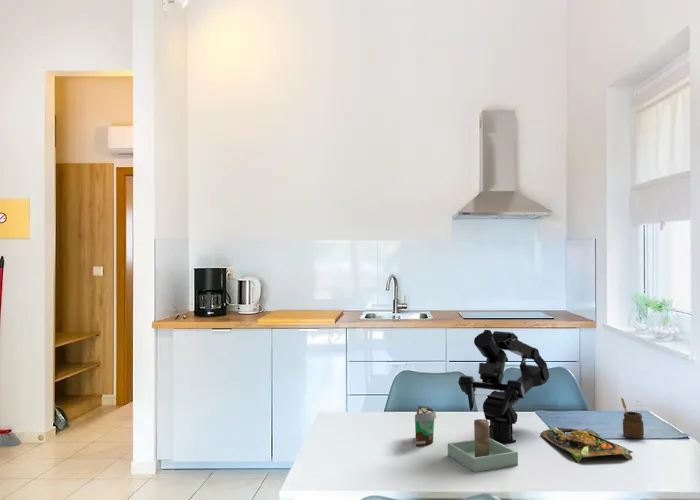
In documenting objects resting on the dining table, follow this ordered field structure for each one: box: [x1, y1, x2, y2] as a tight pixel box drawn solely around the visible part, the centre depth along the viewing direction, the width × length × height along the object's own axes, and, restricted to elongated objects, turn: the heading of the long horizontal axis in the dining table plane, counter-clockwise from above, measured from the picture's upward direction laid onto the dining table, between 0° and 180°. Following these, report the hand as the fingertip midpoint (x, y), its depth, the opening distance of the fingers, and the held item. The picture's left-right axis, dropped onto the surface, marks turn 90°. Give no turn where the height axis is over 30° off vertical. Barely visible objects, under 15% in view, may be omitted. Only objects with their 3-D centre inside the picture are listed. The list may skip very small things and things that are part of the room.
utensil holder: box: [620, 397, 645, 439], centre depth 176 cm, size 6×6×12 cm
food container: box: [414, 404, 437, 448], centre depth 174 cm, size 12×6×10 cm, turn 168°
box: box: [447, 438, 519, 473], centre depth 157 cm, size 14×14×4 cm
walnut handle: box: [473, 418, 490, 458], centre depth 157 cm, size 4×4×10 cm
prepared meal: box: [539, 427, 634, 464], centre depth 168 cm, size 28×4×18 cm
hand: (486, 412), depth 161 cm, fingers open, 9 cm apart
